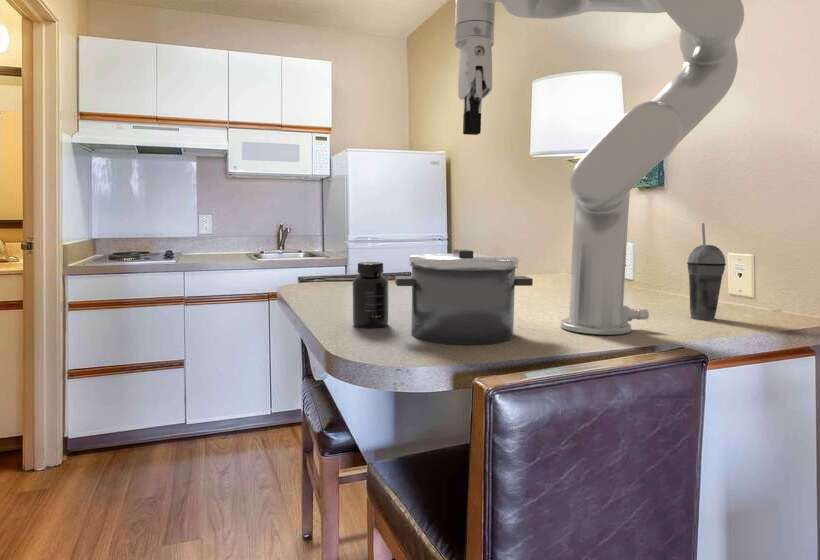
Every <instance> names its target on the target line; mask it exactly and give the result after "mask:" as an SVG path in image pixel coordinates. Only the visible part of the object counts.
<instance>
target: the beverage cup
mask: <svg viewBox="0 0 820 560" xmlns="http://www.w3.org/2000/svg"><path fill="white" fill-rule="evenodd" d="M701 232H702V233H701V234H702V235H701V236H702V244H700V245H698V246H696V247H695V248H694V249H692V250H691V252H690V253H689V256H688V260H687V263H686V264H687V273H688V280H689V281H688V283H689V284H688V285H689V287H688V288H689V311H690V312H689V313H690V318H691V319H693V320H696V321H697V320H698V321H714V320H715V319H716V318H715V317H716V313H717V309H718V303H719V297H720V291H721V286H722V285H721V284H722V279H723V276H724V274H725V273H724V272H725V269H726V266H727V265H726V264H727V263H726V258H725V255H724V253H723V251H722V250H721V249H720V248H719V247H717V246H716V245H713V244H706V227H705V222H701Z"/></svg>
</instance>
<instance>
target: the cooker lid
mask: <svg viewBox="0 0 820 560" xmlns="http://www.w3.org/2000/svg"><path fill="white" fill-rule="evenodd" d="M452 251H453V253H426V254H425V253H421V254H411V255H410V256H408V257H409V258H408V261H409V262H408V264H409V265H408V266H409V267H411V268H412V267H417V268H425V269H437V270H463V271H487V270H507V269H515V270H516V269H518V268H519V257H517V256H511V255H502V254H501V255H497V254H487V253H486V254H485V253H484V254H483V253H474V250H471V249H463V248H462V249H461V248H458V249H456V248H455V249H453V250H452Z"/></svg>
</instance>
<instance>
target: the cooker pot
mask: <svg viewBox="0 0 820 560" xmlns="http://www.w3.org/2000/svg"><path fill="white" fill-rule="evenodd" d="M394 283H395V285H396V286H397V287H411V329H410V330H411V331H410V332H411V335H412V336H413V338H416V339H419V340H420V341H425V342H429V343H435V344H443V345H453V346H457V345H458V346H481V345H482V346H484V345H493V344H494V345H495V344H500V343H504V342H508V341H511V340H512V339H513V338H514V326H515V325H514V324H515V323H514V319H515V316H514V315H515V291H516V290H515V287H516V286H517V287H521V286H522V287H527V286H528V287H532V286H533V283H534V282H533V278H532V277H528V276H525V275H516V268H515V269H507V270H487V271H463V270H437V269H425V268H417V267H412V266H411V275H395V276H394Z"/></svg>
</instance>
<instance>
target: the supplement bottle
mask: <svg viewBox="0 0 820 560" xmlns="http://www.w3.org/2000/svg"><path fill="white" fill-rule="evenodd" d="M357 273H358V275H357V276H356V277H355V278H354V279H353V281H352V325H354V326H355V327H358V328H362V329H378V328H379V329H380V328H384V327H387V325H388V323H389V280H388V279H387V278H386V277H385V276H383V273H384V263H383V262H382V261H381V262H380V261H379V262H378V261H361V262H358V263H357Z"/></svg>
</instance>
